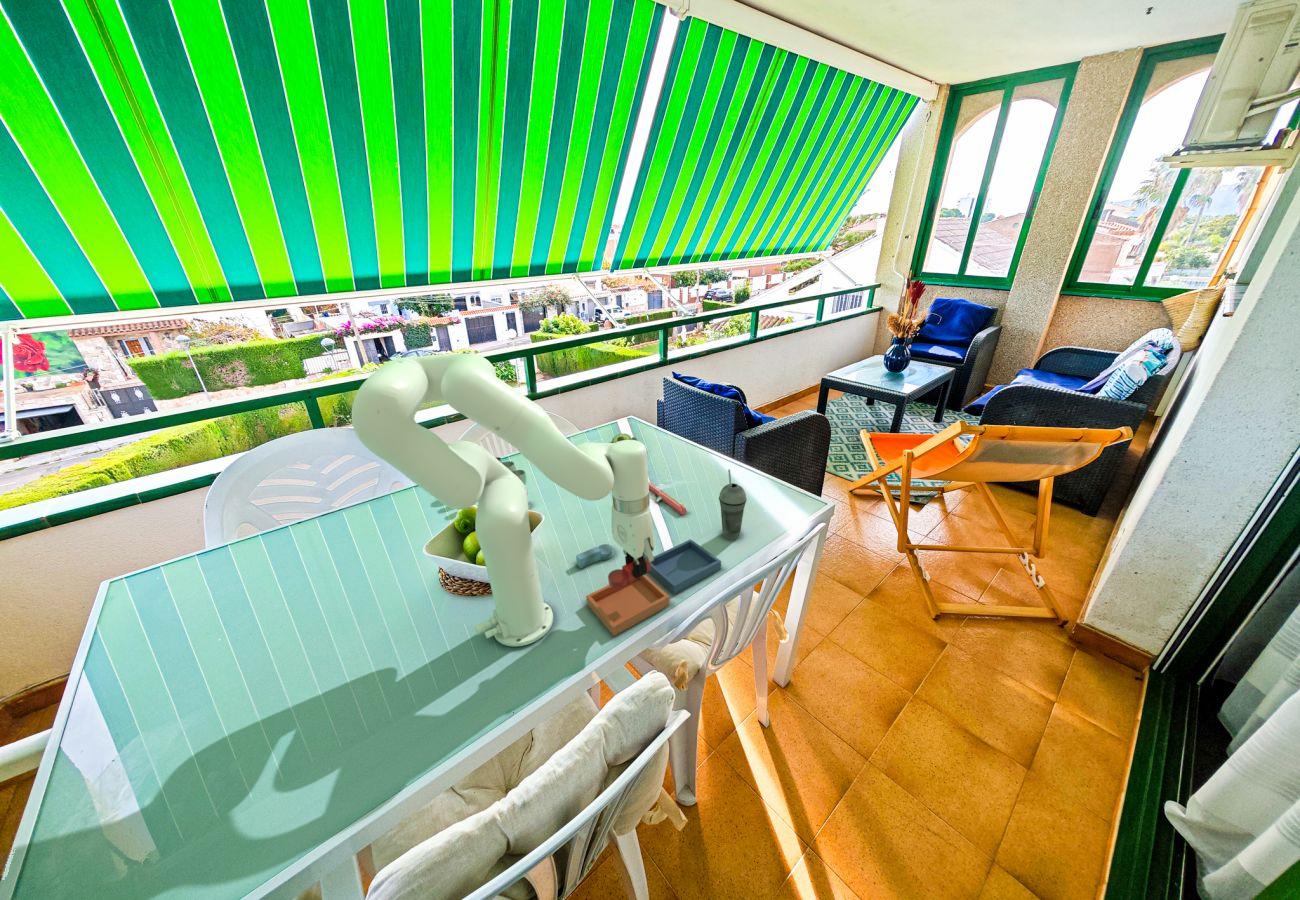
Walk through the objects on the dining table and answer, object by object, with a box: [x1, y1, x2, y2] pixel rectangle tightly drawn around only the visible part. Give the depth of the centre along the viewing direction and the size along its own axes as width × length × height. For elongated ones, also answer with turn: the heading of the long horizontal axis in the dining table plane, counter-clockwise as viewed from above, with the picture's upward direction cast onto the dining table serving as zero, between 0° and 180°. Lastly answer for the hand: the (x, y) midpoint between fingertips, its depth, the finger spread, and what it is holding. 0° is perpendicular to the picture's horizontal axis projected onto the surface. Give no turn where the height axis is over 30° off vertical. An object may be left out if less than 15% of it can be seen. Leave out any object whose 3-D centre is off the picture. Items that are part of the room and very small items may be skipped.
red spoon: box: [607, 561, 651, 589], centre depth 99 cm, size 10×4×3 cm, turn 126°
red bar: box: [649, 482, 688, 516], centre depth 145 cm, size 24×2×5 cm
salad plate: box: [607, 433, 638, 443], centre depth 177 cm, size 19×18×5 cm
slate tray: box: [648, 539, 722, 595], centre depth 113 cm, size 15×12×2 cm
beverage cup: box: [718, 468, 748, 541], centre depth 121 cm, size 7×7×20 cm
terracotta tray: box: [585, 574, 670, 637], centre depth 102 cm, size 15×12×2 cm
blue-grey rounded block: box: [575, 543, 615, 569], centre depth 118 cm, size 10×4×3 cm, turn 126°
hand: (636, 571), depth 101 cm, fingers closed on red spoon, 2 cm apart
